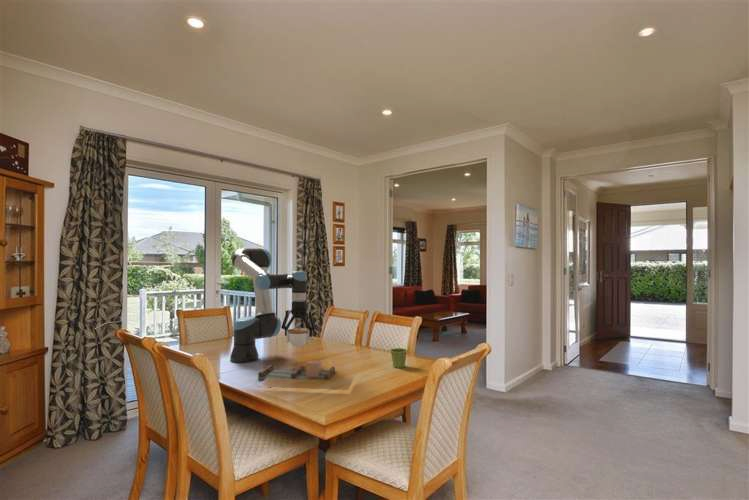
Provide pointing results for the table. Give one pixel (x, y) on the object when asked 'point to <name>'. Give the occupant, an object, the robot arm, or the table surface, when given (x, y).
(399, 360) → the plant pot
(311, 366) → the terracotta block
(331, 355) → the table surface
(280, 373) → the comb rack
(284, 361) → the table surface
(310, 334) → the robot arm
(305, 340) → the lidded jar
